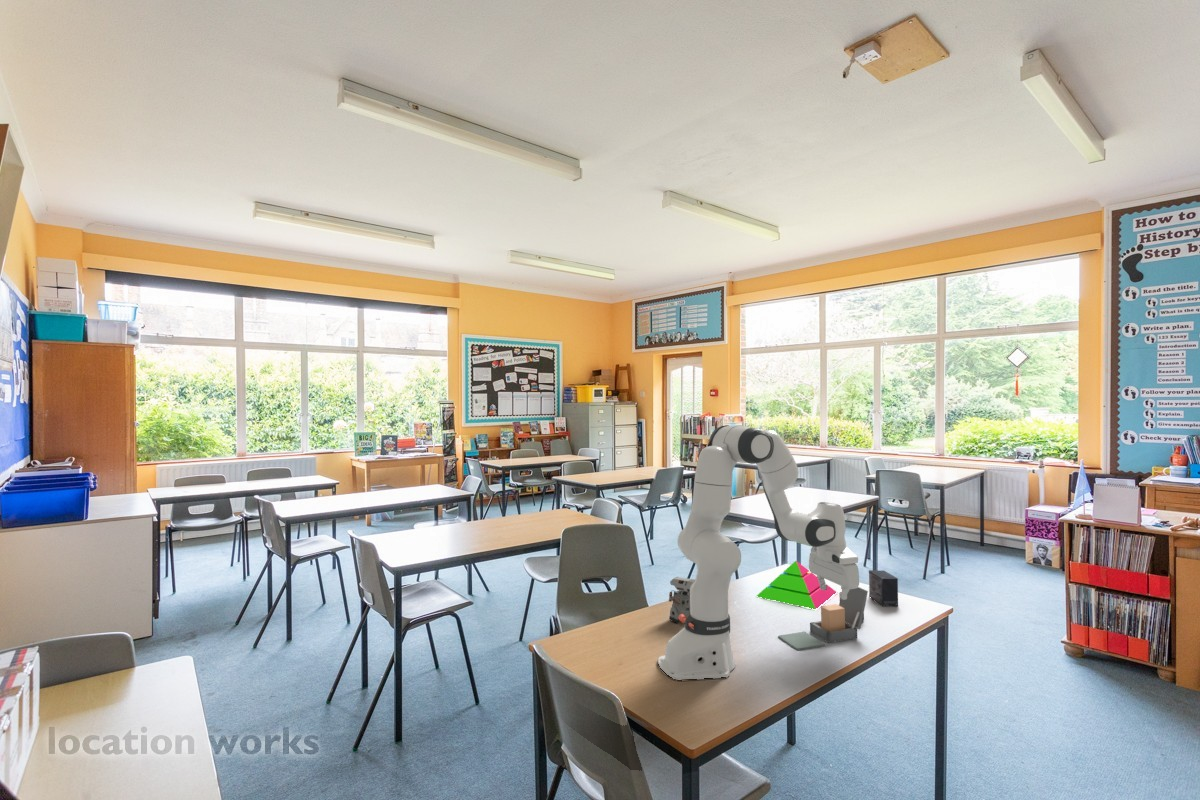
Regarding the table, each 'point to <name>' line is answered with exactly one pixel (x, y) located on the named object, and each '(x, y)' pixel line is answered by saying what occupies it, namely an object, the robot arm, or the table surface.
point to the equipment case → (852, 617)
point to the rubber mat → (801, 640)
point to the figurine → (680, 598)
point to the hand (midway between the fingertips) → (833, 594)
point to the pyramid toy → (797, 588)
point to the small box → (883, 588)
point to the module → (832, 617)
